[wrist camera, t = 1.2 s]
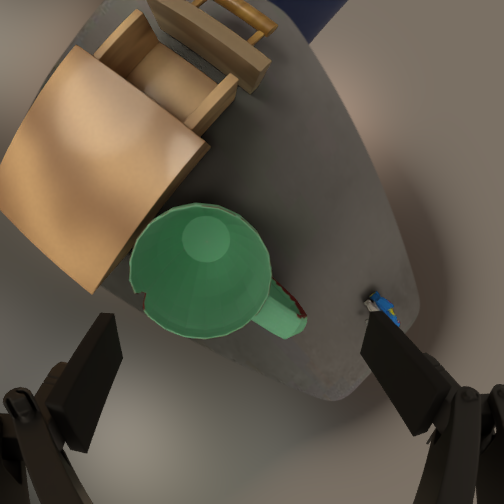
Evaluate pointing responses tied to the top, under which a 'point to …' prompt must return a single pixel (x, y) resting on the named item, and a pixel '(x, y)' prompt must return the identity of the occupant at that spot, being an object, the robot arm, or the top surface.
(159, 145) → the cabinet
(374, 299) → the toy
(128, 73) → the drawer
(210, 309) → the mug
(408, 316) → the top surface
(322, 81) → the top surface
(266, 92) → the top surface
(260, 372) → the top surface
